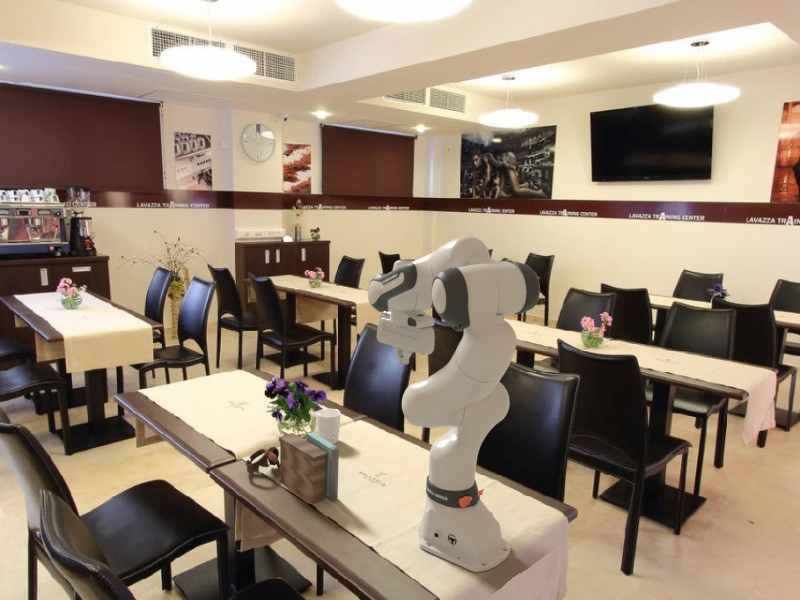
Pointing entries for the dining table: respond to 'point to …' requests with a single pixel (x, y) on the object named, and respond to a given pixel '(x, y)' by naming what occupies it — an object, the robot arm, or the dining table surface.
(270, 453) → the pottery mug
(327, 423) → the white cup
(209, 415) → the dining table surface
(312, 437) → the teal square slab
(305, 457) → the wooden board
